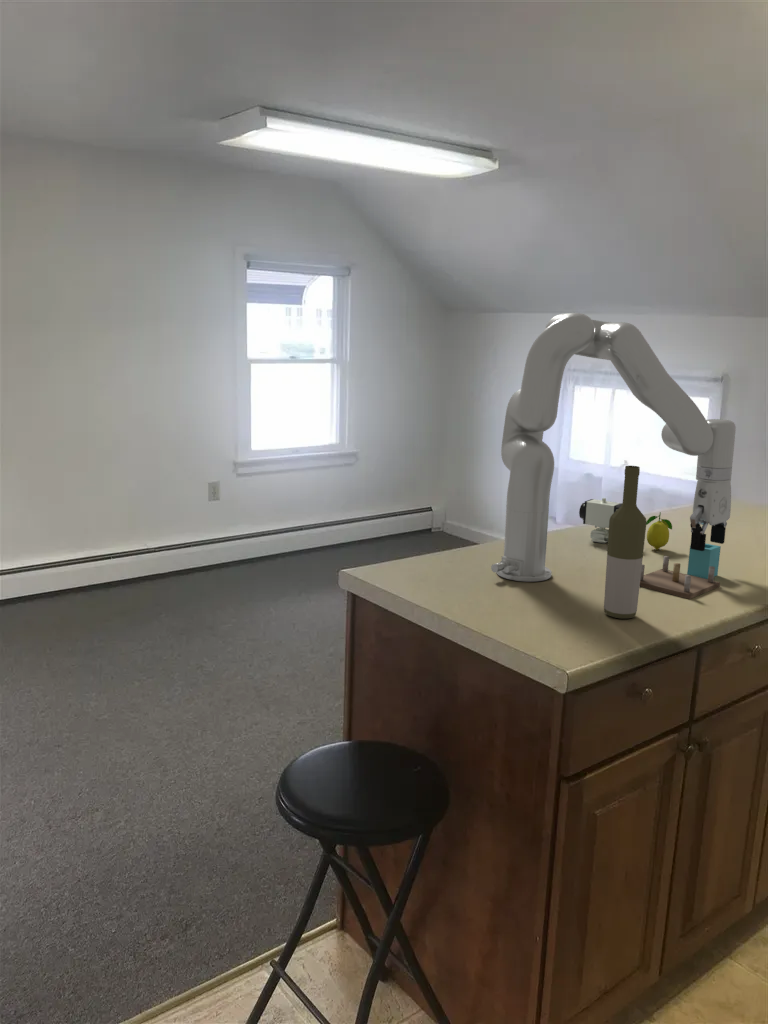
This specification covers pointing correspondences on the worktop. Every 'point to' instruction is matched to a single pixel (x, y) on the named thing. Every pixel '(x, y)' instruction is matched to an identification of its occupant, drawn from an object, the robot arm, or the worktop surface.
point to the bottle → (625, 552)
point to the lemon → (658, 532)
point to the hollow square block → (703, 561)
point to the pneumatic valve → (598, 517)
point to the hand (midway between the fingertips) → (707, 546)
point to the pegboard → (678, 581)
